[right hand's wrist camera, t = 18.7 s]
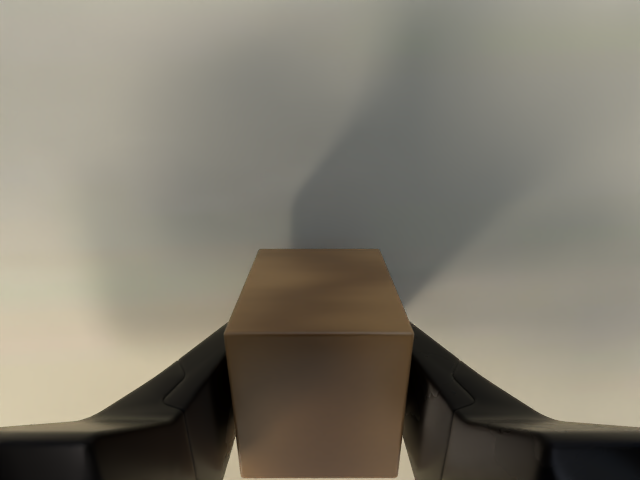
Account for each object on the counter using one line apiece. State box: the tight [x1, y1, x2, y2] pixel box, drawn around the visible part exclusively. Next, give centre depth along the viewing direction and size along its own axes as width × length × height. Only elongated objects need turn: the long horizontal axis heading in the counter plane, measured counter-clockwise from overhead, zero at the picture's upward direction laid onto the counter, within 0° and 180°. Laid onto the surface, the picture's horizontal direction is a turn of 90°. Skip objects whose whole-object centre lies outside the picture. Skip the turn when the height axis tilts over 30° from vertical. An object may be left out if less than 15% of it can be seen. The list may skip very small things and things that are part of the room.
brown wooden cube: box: [224, 249, 414, 478], centre depth 11 cm, size 4×5×5 cm
